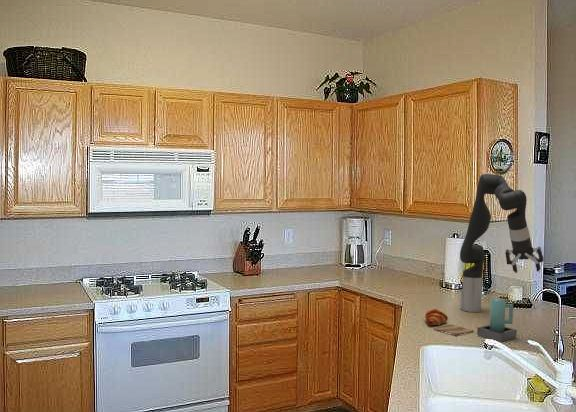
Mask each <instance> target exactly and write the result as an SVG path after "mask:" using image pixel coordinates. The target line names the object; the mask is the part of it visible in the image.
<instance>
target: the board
mask: <svg viewBox="0 0 576 412" xmlns="http://www.w3.org/2000/svg"><path fill="white" fill-rule="evenodd" d="M434 329H435V330H439V331H443V332H447V333H451V334H454V335H460V334H464V333H468V334H471V333H470V332H472V333H474V332H475V330H474V329H470V328H467V327H462V326H459V325H454V324H446V325H441V326H437V327H433V330H434ZM435 330H434V331H435ZM439 331H438V332H439ZM464 335H465V334H464ZM460 336H461V335H460Z"/></svg>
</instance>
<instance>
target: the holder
mask: <svg viewBox="0 0 576 412" xmlns="http://www.w3.org/2000/svg"><path fill="white" fill-rule="evenodd" d="M489 327H490V324H487V325H483V326H479V327H476V328H477V333H476V334H477V335H478V336H477V335H476V336H477V337H480V336H481V338H485V339H487V338H488V340H491V339H494V340H493V341H495V340H497V341H496V342H498V341H499V343H503V342H507V341H510V340H513V339H517V337H518V336H517V333H518V330H517V329H515V328H513V327H512V328H511V327H507V326H505V331H504V332H496V331H492V330H489Z"/></svg>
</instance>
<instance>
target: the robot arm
mask: <svg viewBox="0 0 576 412" xmlns="http://www.w3.org/2000/svg"><path fill="white" fill-rule="evenodd" d="M477 183H478V184H477V188H476V195H475V198H474V199H475V200H474V203H473V207H472V211H471V213H470V218H469V222H468V226H467V231H466V233H465V234H466V235H465V237H464V240H463V242H462V245H461V247H460V251H459V259H460V261H461V262H462V264H463V263H464V264H473V265H472V266H471V267H469V268H466V269H464V270H463V271H462V290H460V308H459V309H460V310H462V311H464V312H469V313H479V312H482V296H483V295H482V293H483V290H482V289H483V273H484V271H483V270H484V260H485V259H484V257H485V249H484V247H483V246H482V245H480V244H475V243H476V242H477V241H478V239H479V238H481V237H482V236H483V235H484V234H485V233H486V232H487V231H488V229H489V226H490V222H491V220H492V216H491V215H492V214H491V211H490V209H489V207H488V206H487V203H486V201H485V196H486V195H495V198H496V199H497V200H498V204H499V207H500V208H501V210H503V211H511V210H514V211H513V212H511V213H509V214H508V215H507V217H506V220H507V225H508V229H509V233H508V234H509V238H510V243H511V246H512V249H511V250H509V249H505V253H504V254H505V260H506V264H507V265H511V267H512V271H513V272H514V273H515V274H517V273H518V271H519V270H518V267H517V262H518V260H520V261H523V260H530V261H532V262H534V264H535V268H536V269H535V270H536V272H539V271H540V270H541V264H540V263H543V262H544V255H543V252H542V247H540V246H537V247H536V248H535V247H533V245H532V240H531V235H530V230H529V227H528V224H527V219H526V211H527V209H526V208H527V200H528V199H527V198H528V197H527V195H526V193H525V192H524V191H523V190H522V189H521V190H520V189H516V190H514V189H513V188H511V187H510V186H509V185H508V182H507V180H506V179H505V177H504V176H502V175H501V174H491V173H482V174H481V175H480V176H479V179H478V182H477ZM534 252H535V253H536V254H537V255H538V256H536V254H534ZM511 255H514V258H513V259H512V260H511Z"/></svg>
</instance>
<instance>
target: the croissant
mask: <svg viewBox="0 0 576 412" xmlns="http://www.w3.org/2000/svg"><path fill="white" fill-rule="evenodd" d="M424 318H425V322H426V323H427V325H429V326H433V325H439V326H440V324H442V325H443V324H445V323H447V322H448V320H449V318H448V315H447V314H446V312H444V311H442V310H440V309H439V308H431V309H428V310H427V311H426V313H425V315H424Z"/></svg>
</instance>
